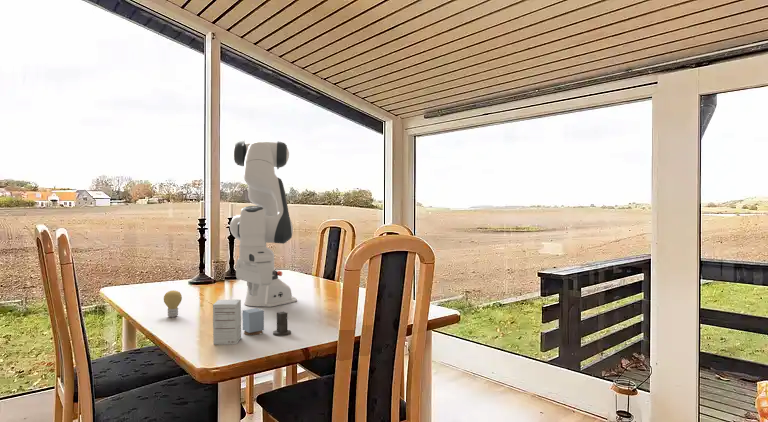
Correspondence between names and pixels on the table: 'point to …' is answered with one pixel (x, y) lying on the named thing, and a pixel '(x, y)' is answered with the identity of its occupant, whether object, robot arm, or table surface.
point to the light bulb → (172, 302)
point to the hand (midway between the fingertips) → (253, 295)
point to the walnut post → (253, 333)
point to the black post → (282, 325)
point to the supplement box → (226, 322)
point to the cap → (253, 320)
